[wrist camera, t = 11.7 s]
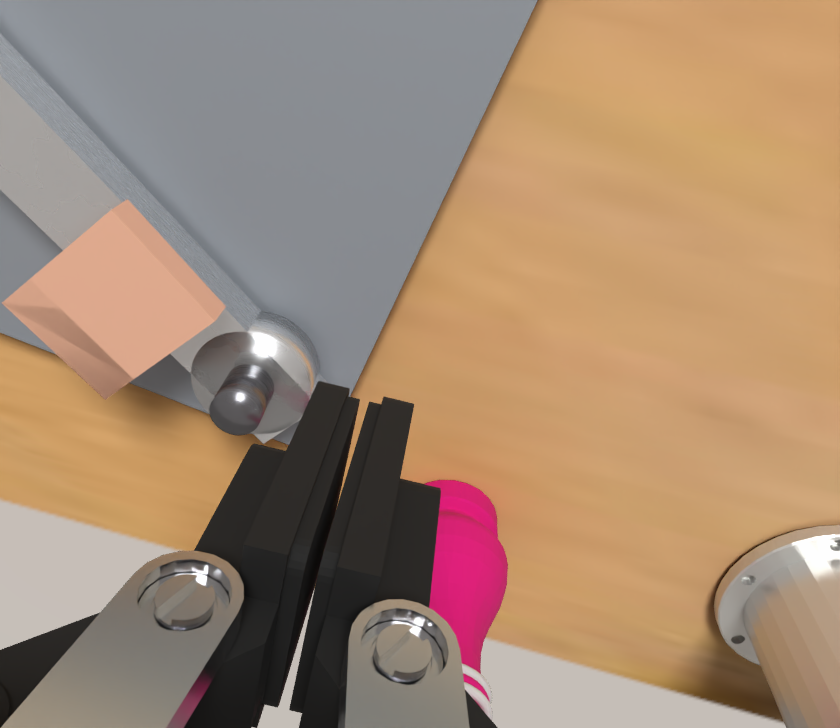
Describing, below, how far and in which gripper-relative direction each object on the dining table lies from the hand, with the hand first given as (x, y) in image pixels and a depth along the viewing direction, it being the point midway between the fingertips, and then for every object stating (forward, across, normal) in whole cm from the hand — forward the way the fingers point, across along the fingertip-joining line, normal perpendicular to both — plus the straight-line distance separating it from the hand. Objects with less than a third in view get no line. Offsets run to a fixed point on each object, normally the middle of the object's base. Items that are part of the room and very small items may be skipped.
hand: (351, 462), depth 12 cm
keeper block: (+23, +13, +8) cm, 28 cm away
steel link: (+21, +14, +6) cm, 26 cm away
